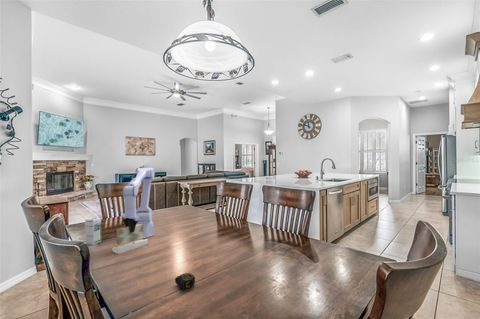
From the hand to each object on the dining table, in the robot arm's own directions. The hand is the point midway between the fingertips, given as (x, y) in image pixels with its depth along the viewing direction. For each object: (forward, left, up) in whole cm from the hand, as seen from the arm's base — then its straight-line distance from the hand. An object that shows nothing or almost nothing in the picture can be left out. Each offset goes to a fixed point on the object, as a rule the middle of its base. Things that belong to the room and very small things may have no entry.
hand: (130, 231), depth 131 cm
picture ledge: (0, 0, -9) cm, 9 cm away
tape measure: (+9, +56, -9) cm, 57 cm away
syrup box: (+9, -25, -9) cm, 28 cm away
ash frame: (0, 0, -5) cm, 5 cm away
